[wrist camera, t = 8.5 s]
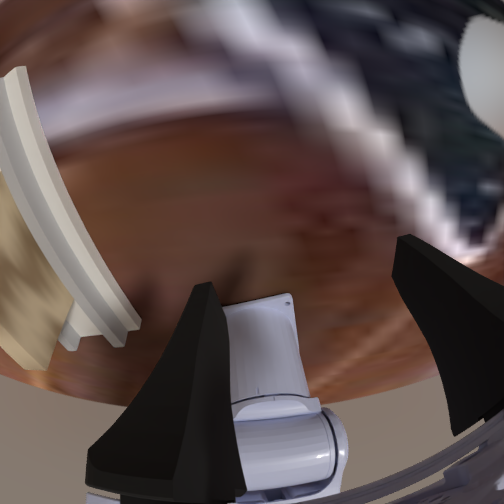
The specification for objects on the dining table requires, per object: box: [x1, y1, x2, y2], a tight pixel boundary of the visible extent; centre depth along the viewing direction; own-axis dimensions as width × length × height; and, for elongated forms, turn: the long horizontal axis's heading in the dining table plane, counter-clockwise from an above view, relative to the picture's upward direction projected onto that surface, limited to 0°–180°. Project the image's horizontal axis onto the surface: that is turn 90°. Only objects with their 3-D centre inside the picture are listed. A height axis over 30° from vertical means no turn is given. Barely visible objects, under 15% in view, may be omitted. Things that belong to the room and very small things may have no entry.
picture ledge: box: [0, 66, 142, 351], centre depth 16 cm, size 24×10×3 cm, turn 11°
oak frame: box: [0, 171, 74, 371], centre depth 13 cm, size 12×3×8 cm, turn 12°
